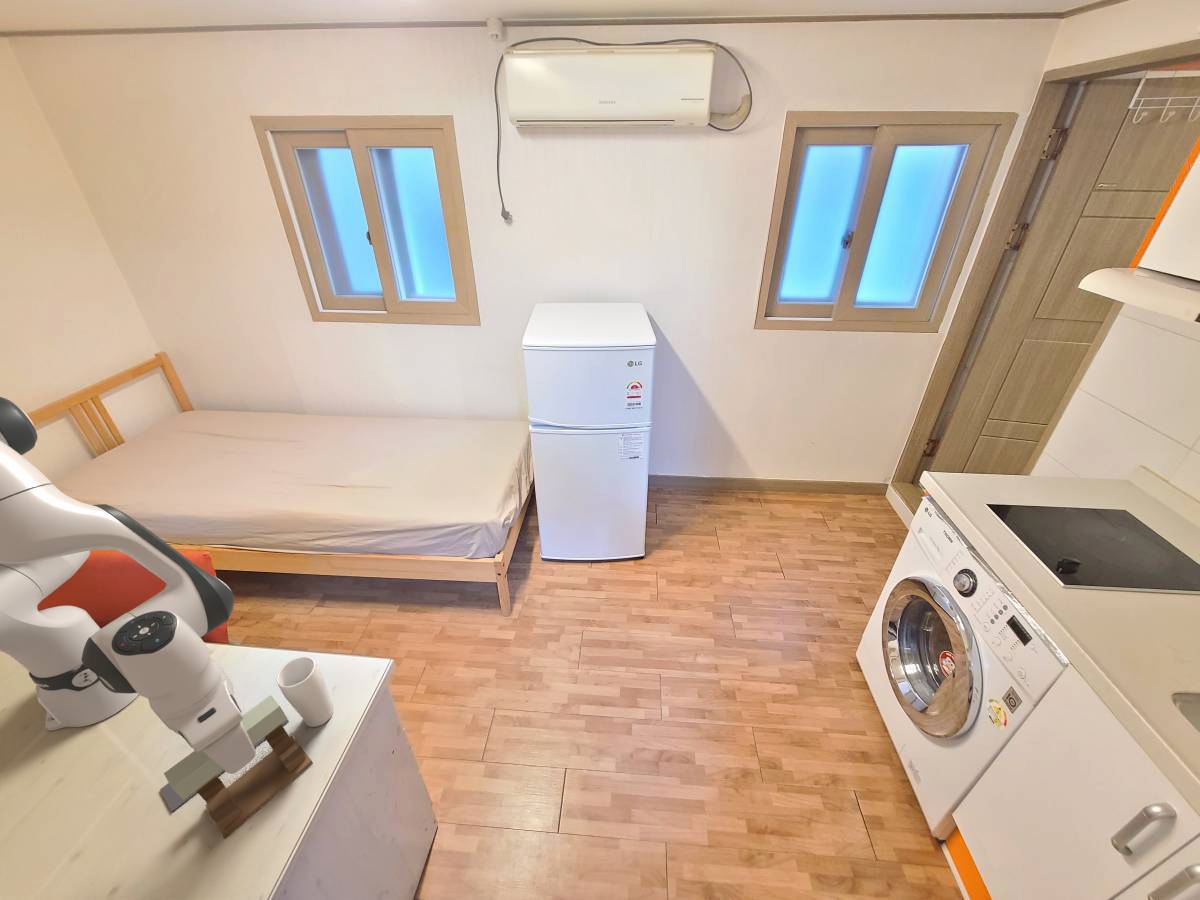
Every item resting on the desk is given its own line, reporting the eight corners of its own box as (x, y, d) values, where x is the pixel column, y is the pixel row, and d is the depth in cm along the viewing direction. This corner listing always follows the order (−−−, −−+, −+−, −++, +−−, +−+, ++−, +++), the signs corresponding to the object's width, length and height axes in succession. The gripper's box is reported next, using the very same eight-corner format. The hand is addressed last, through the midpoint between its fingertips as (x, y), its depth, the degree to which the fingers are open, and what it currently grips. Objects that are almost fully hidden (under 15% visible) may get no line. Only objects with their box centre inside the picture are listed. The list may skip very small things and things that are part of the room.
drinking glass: (332, 693, 104) (310, 649, 97) (342, 716, 100) (320, 672, 92) (298, 714, 101) (272, 669, 93) (306, 739, 96) (280, 695, 88)
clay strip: (183, 800, 77) (171, 787, 75) (175, 785, 78) (163, 773, 76) (287, 718, 88) (279, 706, 85) (278, 707, 89) (270, 694, 87)
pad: (160, 790, 89) (160, 789, 89) (275, 704, 102) (274, 703, 102) (172, 812, 86) (171, 811, 86) (288, 721, 99) (288, 720, 99)
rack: (207, 807, 86) (190, 789, 83) (293, 737, 97) (281, 719, 93) (225, 838, 82) (208, 821, 79) (312, 762, 93) (301, 744, 89)
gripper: (148, 676, 78) (188, 723, 85) (196, 755, 68) (236, 801, 75) (194, 648, 83) (227, 695, 90) (245, 718, 72) (279, 765, 79)
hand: (232, 744), depth 82 cm, fingers closed on clay strip, 3 cm apart
